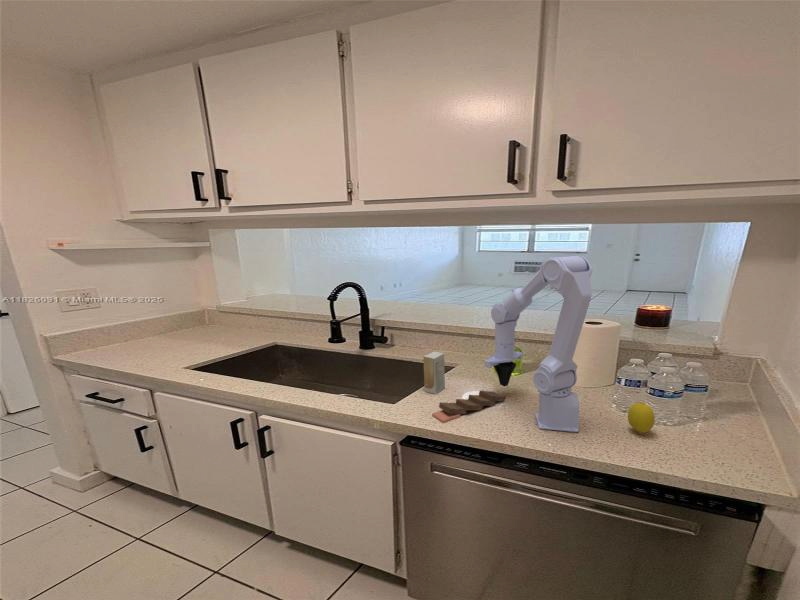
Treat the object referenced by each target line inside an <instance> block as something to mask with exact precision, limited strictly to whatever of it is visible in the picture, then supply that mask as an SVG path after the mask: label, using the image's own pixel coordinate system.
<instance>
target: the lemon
mask: <svg viewBox="0 0 800 600" xmlns="http://www.w3.org/2000/svg"><path fill="white" fill-rule="evenodd" d="M655 418H656V417H655V413H654V410H653V408H651V407H650V405H648V404H646V403H645V402H643V401H641V402H636V403H634V404H632V405H631V406H630V407H629V409H628V411H627V420H628V424H629V426H631V428H632V429H634V430H635V431H636V432H637V433H639V434H642V433H646V432H649V431H651V430H652V428H654V425H655V420H656V419H655Z"/></svg>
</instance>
